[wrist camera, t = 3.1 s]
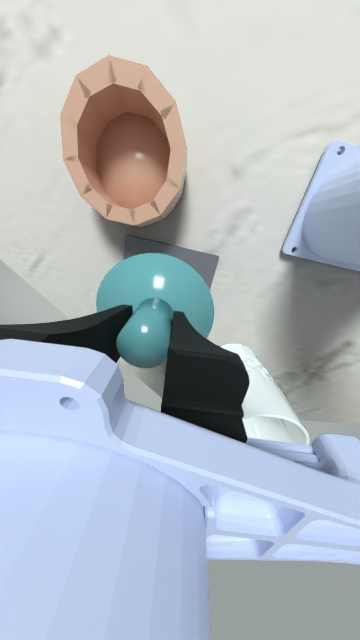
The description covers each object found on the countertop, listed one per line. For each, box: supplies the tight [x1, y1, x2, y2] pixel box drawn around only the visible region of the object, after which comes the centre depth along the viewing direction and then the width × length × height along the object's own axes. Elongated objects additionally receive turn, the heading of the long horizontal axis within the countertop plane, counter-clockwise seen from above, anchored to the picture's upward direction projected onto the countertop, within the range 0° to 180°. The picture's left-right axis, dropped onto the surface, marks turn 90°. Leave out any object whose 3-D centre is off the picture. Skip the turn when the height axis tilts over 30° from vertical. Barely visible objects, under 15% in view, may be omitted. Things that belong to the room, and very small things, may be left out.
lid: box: [96, 253, 214, 368], centre depth 11 cm, size 9×9×5 cm
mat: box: [124, 235, 219, 289], centre depth 19 cm, size 9×9×1 cm
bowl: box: [60, 55, 187, 227], centre depth 13 cm, size 8×8×3 cm
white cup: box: [220, 344, 310, 445], centre depth 18 cm, size 8×8×10 cm
